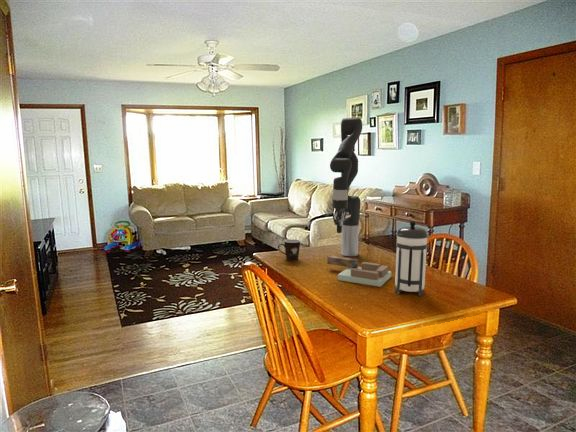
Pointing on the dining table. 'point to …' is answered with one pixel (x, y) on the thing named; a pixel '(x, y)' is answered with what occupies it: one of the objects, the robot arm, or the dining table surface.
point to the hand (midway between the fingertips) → (339, 232)
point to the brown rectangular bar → (343, 261)
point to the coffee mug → (291, 249)
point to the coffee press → (411, 259)
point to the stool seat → (366, 274)
